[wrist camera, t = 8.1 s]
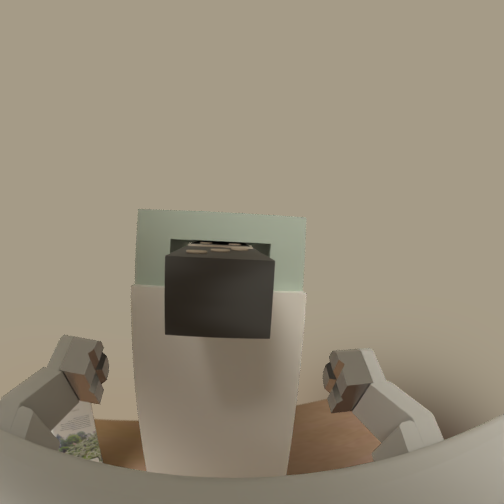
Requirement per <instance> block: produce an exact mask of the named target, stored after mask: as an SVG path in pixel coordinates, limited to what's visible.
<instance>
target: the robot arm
mask: <svg viewBox="0 0 504 504" xmlns="http://www.w3.org/2000/svg"><path fill="white" fill-rule="evenodd" d="M103 348H104V347H103V345H102V342H101V341H96V340H90V339H85V338H79V337H74V336H68V335H63V336H62V337H61V338H60V340H59V342H58V344H57V347H56V349H55V351H54V353H53V355H52V357H51V359H50V361H49V364H48V366H47V368H46V367H43V368H42V369H40V370H39V371H37V372H36V373H34V374H33V375H32V376H30V377H29V378H28V379H26V380H25V381H23V382H22V383H21V384H19V385H18V386H17V387H15V388H14V389H12V390H11V391H10V392H9V393H7V394H6V395H4V396H3V397H2V398H1V401H0V504H504V414H503V415H500V416H498V417H496V418H494V419H492V420H490V421H488V422H486V423H483V424H481V425H479V426H477V427H475V428H472V429H470V430H468V431H466V432H463V433H461V434H458V435H456V436H454V437H451V438H449V439H446V440H444V439H443V437H442V434H441V432H440V429H439V427H438V425H437V422H436V420H435V418H434V415H433V414H432V413H431V412H430V411H429V410H427V409H426V408H425V407H423V406H422V405H421V404H419V403H418V402H417V401H415V400H414V399H412V398H411V397H410V396H409V395H407V394H406V393H405V392H404V391H402V390H401V389H400V388H398V387H397V386H396V385H394V384H393V383H392V382H390V381H386V379H385V377H384V374H383V372H382V370H381V368H380V365H379V363H378V361H377V359H376V356H375V354H374V352H373V350H372V349H371V348H366V349H350V350H336V351H332V352H331V354H330V356H329V359H330V362H329V363H328V364H327V365H326V366H325V368H324V371H323V384H324V388H325V389H326V390H327V391H328V392H329V393H330V395H329V396H328V398H327V399H328V403H329V407H330V410H331V413H337V412H347V411H352V413H353V414H354V415H355V416H356V417H357V418H358V419H359V420H360V421H361V422H362V423H363V424H364V425H365V426H366V427H367V428H368V429H369V430H370V431H371V432H372V434H373V435H374V436H375V437H376V438H377V439H378V440H379V441H380V442H381V444H380V445H379V446H378V447H377V448H376V449H375V450H374V451H373V452H372V457H373V460H374V462H370V463H365V464H361V465H356V466H351V467H346V468H340V469H334V470H328V471H322V472H314V473H306V474H297V475H287V476H273V477H252V478H217V477H195V476H182V475H171V474H162V473H155V472H147V471H141V470H135V469H129V468H123V467H118V466H113V465H109V464H104V463H100V462H95V461H91V460H87V459H84V458H80V457H76V456H73V455H69V454H66V453H63V452H59V451H58V450H59V446H60V442H59V440H58V439H57V438H56V437H55V436H54V435H53V433H52V432H51V431H52V430H53V428H54V427H55V426H56V425H57V424H58V423H59V422H60V421H61V420H62V419H63V418H64V417H65V416H66V415H67V414H68V413H69V412H70V411H71V410H72V409H73V408H74V407H75V406H76V405H77V404H78V403H79V401H84V402H89V403H95V404H100V401H101V398H102V394H103V391H104V389H103V387H102V385H101V384H102V383H103V382H105V381H106V380H107V377H108V372H109V363H108V359H107V356H106V355H105V354H103V352H102V351H103Z"/></svg>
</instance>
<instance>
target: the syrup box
mask: <svg viewBox="0 0 504 504" xmlns="http://www.w3.org/2000/svg"><path fill="white" fill-rule="evenodd" d="M51 432H52V433H53V435H54V436H55V437H56V438H57V439H58V440H59V442H60V446H59V450H58V451H59V452H63V453H66V454H69V455H73V456H76V457H80V458H84V459H87V460H91V461H95V462H100V463H103V459H102V456H101V452H100V447H99V443H98V438H97V433H96V428H95V423H94V417H93V412H92V406H91V403H89V402H84V401H79V403H78V404H77V405H76V406H75V407H74V408H73V409H72V410H71V411H70V412H69V413H68V414H67V415H66V416H65V417H64V418H63V419H62V420H61V421H60V422H59V423H58V424H57V425H56V426H55V427H54V428H53V430H52V431H51Z"/></svg>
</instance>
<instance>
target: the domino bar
mask: <svg viewBox="0 0 504 504" xmlns="http://www.w3.org/2000/svg"><path fill="white" fill-rule="evenodd" d="M274 273H275V260H273V259H271V258H269V257H268V256H266V255H264V254H262V253H261V252H259V251H257V250H255V249H254V248H253V247H250V246H249V245H247V244H245V243H225V242H204V241H195V242H193V243H191V244H188V245H187V246H185V247H183V248H180V249H178V250H176V251H174V252H172V253H170V254H168V255H166V256H165V335H176V336H192V337H212V338H244V339H270V331H271V318H272V303H273V289H274Z"/></svg>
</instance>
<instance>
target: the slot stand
mask: <svg viewBox="0 0 504 504" xmlns="http://www.w3.org/2000/svg"><path fill="white" fill-rule="evenodd" d="M305 239H306V218H304V217H290V216H275V215H259V214H243V213H224V212H204V211H180V210H179V211H177V210H150V209H138V222H137V237H136V261H135V284H134V285H132V286H131V324H132V325H131V326H132V350H133V366H134V379H135V391H136V400H137V410H138V418H139V426H140V433H141V440H142V446H143V453H144V459H145V464H146V470H147V472H155V473H162V474H171V475H182V476H195V477H217V478H252V477H273V476H286V474H287V468H288V461H289V455H290V448H291V441H292V434H293V426H294V418H295V410H296V402H297V393H298V385H299V376H300V366H301V356H302V345H303V334H304V321H305V308H306V293H305V292H303V278H304V261H305ZM195 241H204V242H225V243H245V244H247V245H252V247H253V248H254V249H255V250H257V251H259V252H261V253H262V254H264V255H266V256H268V257H269V258H271V259H273V260H275V273H274V289H273V303H272V318H271V331H270V339H244V338H212V337H192V336H176V335H165V256H166V255H168V254H170V253H172V252H174V251H176V250H178V249H180V248H183V247H185V246H187V245H188V244H189V243H193V242H195Z"/></svg>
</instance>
